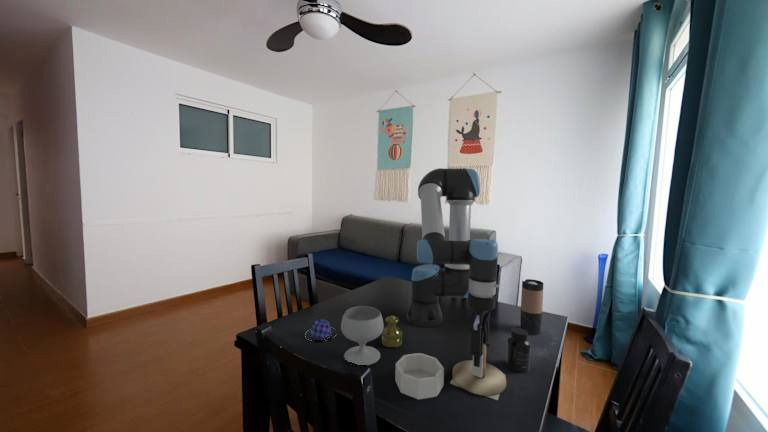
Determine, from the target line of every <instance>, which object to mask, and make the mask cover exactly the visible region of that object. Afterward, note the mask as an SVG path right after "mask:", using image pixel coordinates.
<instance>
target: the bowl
mask: <svg viewBox="0 0 768 432" xmlns="http://www.w3.org/2000/svg"><path fill="white" fill-rule="evenodd" d="M444 375H445V368H444V366H443V365H442V364H441V361H439V360H438V358H437V357H434V356H431V355H428V354H425V353H421V352H417V353H416V352H415V353H411V354H410V353H409V354H403V355H402V356H401V357H400V358H399V359H398V361H396V362H395V378H394V379H395V383H396V385H397V387H398V389H399V391H400V393H401V394H404V395H406V396H408V397H411V398H414V399H416V400H423V399H430V398H435V397H438V396H439V394H440V392H441V391H442V388H443V387H444V385H445V384H444V383H445V381H444V380H445V379H444V378H445V376H444Z"/></svg>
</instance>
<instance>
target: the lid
mask: <svg viewBox="0 0 768 432" xmlns="http://www.w3.org/2000/svg"><path fill="white" fill-rule="evenodd" d="M482 354H483V369H482V378H481V377H478V376H475V375H472V360H473V359H471V360H463V361H459V362H458V363H456V364H455V365H453V367H452V372H451V375H452V379H454V381H455V382H456V383H457V384H458V385H459V386H460V387H459V388H461V389H463V390H465V391H467V392H469V393H470V394H474V395H479V396H484V395H485V397H487V396H491V395H497V394H502V393H503V392H504V391H505V390H506V389H507V378H506V376H505V375H504V374H505V373H504V372H502V371H501V369H499V368H498V367H496V366H495V365H492V364H490V363H487V347H486V345H485V344H484V343H483V348H482Z"/></svg>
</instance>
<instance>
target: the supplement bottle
mask: <svg viewBox="0 0 768 432" xmlns="http://www.w3.org/2000/svg"><path fill="white" fill-rule="evenodd" d="M506 341H507V342H506V357H505V358H506V359H505V360H506V361H505V363H506V366H507V368H508V369H510V370H511V371H514V372H516V373H521V374H524V373H529V371H530V370H531V369H530V368H531V356H532V355H531V352H532V343H531V341H530V340H529V334H528V332H527V331H526V330H524V329H522V328H520V327H513V328H511V329H510V336H509V337H508V338H507V340H506Z"/></svg>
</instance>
